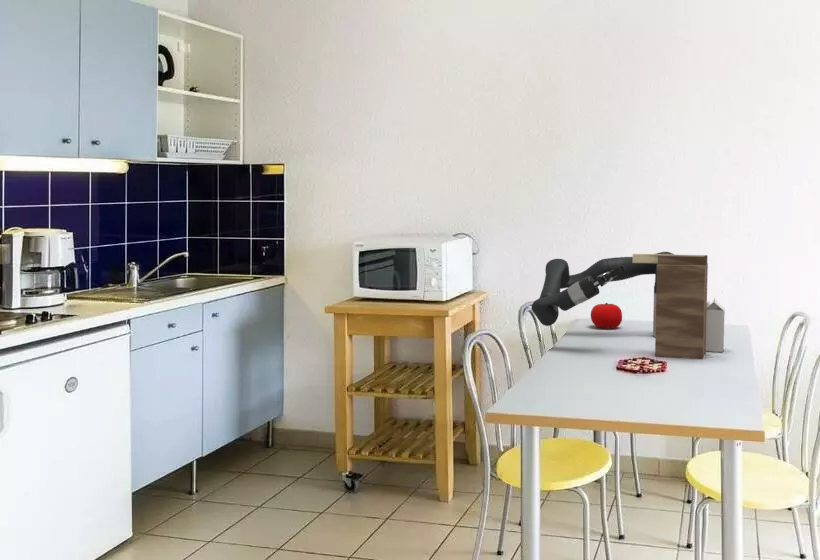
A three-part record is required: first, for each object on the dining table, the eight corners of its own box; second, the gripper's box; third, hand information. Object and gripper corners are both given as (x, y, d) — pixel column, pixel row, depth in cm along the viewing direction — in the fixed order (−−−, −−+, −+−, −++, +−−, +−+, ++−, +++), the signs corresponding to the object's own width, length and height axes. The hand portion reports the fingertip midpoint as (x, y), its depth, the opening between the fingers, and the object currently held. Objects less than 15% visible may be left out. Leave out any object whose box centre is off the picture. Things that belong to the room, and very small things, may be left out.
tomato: (625, 330, 406) (625, 305, 405) (593, 330, 406) (593, 305, 405) (618, 325, 420) (618, 300, 419) (587, 325, 420) (588, 301, 419)
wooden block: (633, 262, 353) (633, 253, 353) (703, 263, 345) (703, 255, 344) (632, 262, 351) (632, 254, 350) (703, 264, 342) (703, 255, 342)
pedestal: (659, 350, 357) (661, 253, 354) (705, 353, 352) (708, 254, 348) (655, 356, 346) (657, 256, 343) (702, 359, 341) (705, 257, 337)
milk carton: (723, 349, 360) (724, 297, 358) (723, 352, 353) (724, 299, 351) (703, 348, 362) (704, 296, 360) (702, 351, 355) (703, 298, 353)
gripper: (592, 297, 365) (631, 276, 359) (584, 301, 352) (624, 279, 346) (582, 279, 366) (620, 258, 360) (574, 283, 352) (613, 261, 347)
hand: (622, 268), depth 353 cm, fingers open, 8 cm apart
